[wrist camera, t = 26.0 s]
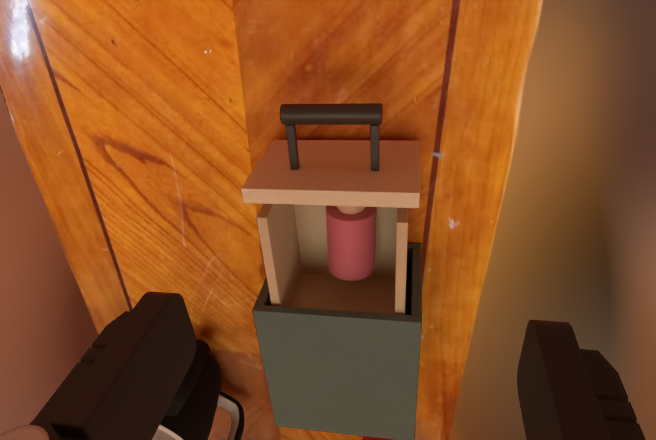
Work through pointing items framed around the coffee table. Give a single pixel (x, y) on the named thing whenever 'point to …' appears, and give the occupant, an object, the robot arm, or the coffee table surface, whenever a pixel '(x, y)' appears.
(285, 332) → the cabinet
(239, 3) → the coffee table surface
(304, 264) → the drawer
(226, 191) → the coffee table surface
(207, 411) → the mug
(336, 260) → the doll
